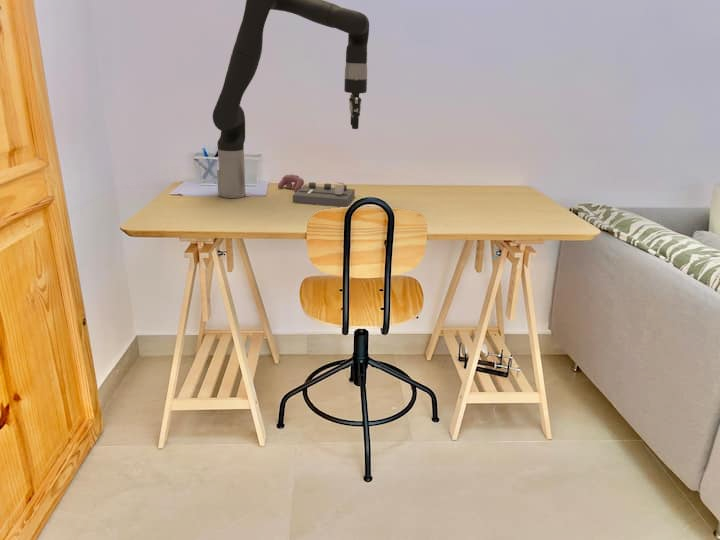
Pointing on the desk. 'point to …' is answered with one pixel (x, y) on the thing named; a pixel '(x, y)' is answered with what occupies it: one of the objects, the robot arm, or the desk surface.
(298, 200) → the console
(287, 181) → the maroon arched lump
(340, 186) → the fader knob
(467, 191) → the desk surface
